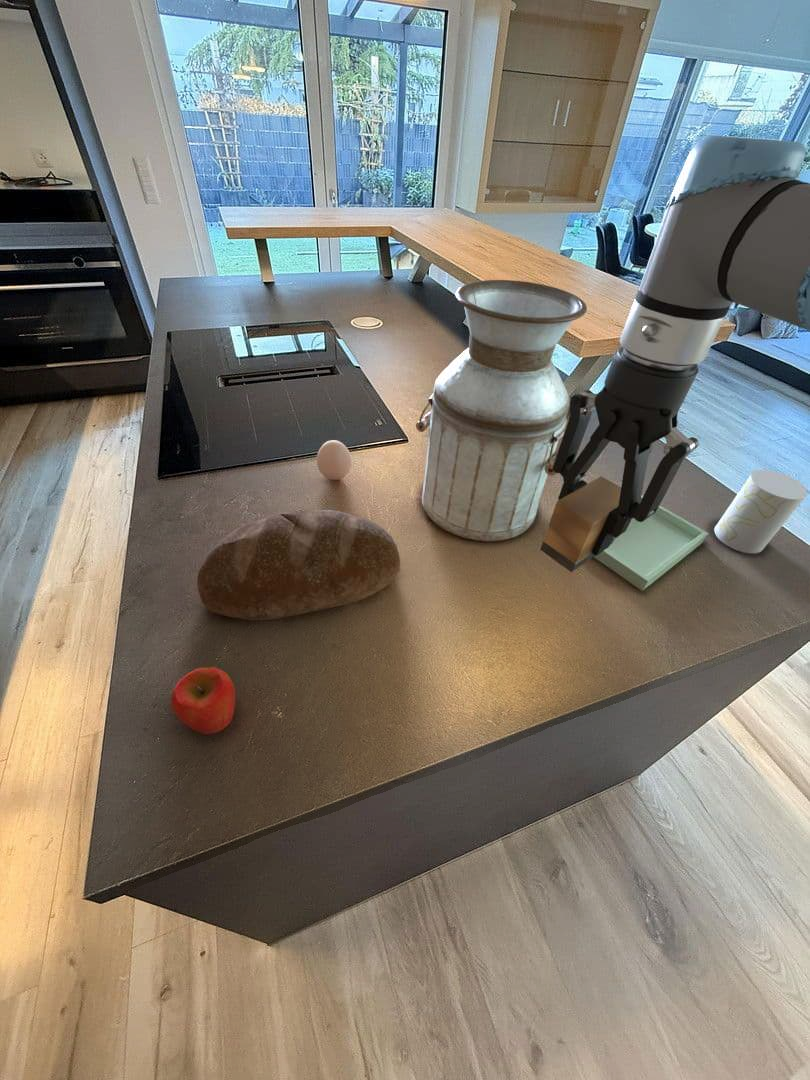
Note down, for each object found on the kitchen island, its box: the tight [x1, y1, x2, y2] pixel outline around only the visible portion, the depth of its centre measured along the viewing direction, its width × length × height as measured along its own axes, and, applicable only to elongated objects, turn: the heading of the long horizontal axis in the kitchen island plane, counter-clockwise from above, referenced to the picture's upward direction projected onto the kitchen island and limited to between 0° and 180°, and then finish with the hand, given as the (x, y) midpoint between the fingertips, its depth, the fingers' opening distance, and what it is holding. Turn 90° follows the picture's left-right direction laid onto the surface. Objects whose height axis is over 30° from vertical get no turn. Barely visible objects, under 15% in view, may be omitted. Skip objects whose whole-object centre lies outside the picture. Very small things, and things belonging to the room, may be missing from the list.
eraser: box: [539, 475, 621, 573], centre depth 57 cm, size 5×9×8 cm, turn 128°
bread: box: [196, 509, 401, 622], centre depth 67 cm, size 16×29×11 cm, turn 107°
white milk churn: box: [415, 279, 588, 542], centre depth 75 cm, size 25×22×36 cm
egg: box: [316, 439, 353, 481], centre depth 88 cm, size 7×7×8 cm
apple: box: [170, 666, 236, 735], centre depth 52 cm, size 6×6×8 cm
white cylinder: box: [714, 469, 808, 554], centre depth 80 cm, size 8×8×12 cm
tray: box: [593, 494, 709, 592], centre depth 81 cm, size 16×20×2 cm
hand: (580, 536), depth 59 cm, fingers closed on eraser, 5 cm apart
